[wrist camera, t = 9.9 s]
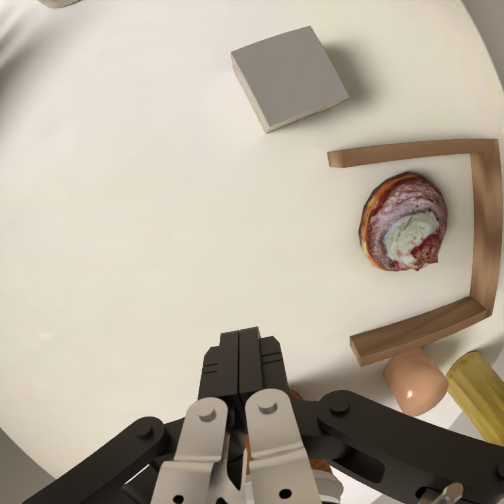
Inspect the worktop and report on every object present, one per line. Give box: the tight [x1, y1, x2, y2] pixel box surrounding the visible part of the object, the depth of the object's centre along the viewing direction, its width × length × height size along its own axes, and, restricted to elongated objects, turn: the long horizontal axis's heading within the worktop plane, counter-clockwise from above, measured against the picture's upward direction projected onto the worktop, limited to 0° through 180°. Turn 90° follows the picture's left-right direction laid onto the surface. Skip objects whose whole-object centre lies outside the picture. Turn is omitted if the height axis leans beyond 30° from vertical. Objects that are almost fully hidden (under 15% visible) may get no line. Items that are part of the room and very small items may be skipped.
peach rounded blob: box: [384, 347, 449, 417], centre depth 22 cm, size 5×5×5 cm
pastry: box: [359, 172, 447, 271], centre depth 18 cm, size 8×8×5 cm
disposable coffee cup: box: [245, 390, 344, 504], centre depth 20 cm, size 10×10×12 cm
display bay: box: [327, 139, 502, 367], centre depth 19 cm, size 16×14×3 cm
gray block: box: [231, 26, 349, 134], centre depth 16 cm, size 5×5×4 cm
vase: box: [446, 351, 504, 447], centre depth 19 cm, size 6×6×14 cm
